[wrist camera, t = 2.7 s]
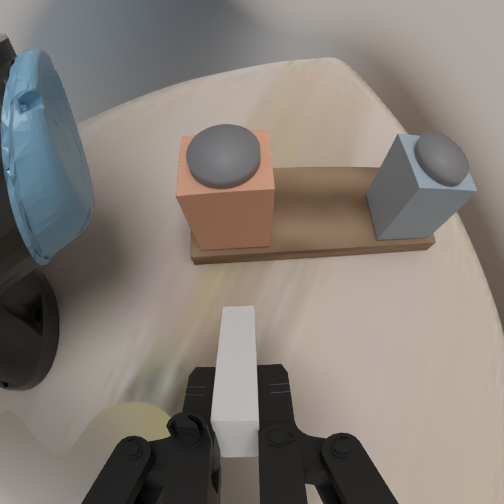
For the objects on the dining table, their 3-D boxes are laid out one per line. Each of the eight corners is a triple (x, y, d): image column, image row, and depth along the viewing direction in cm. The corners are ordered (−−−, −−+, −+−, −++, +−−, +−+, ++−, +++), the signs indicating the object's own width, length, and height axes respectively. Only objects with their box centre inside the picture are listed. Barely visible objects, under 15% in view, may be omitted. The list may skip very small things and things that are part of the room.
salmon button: (270, 246, 26) (275, 179, 17) (201, 250, 26) (171, 187, 17) (265, 197, 28) (268, 119, 18) (202, 201, 28) (178, 127, 18)
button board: (426, 249, 28) (435, 242, 26) (195, 264, 28) (190, 257, 26) (405, 178, 31) (412, 169, 29) (197, 184, 31) (193, 173, 29)
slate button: (428, 237, 26) (483, 184, 17) (376, 240, 26) (425, 179, 17) (414, 194, 28) (459, 133, 18) (365, 194, 28) (402, 125, 18)
